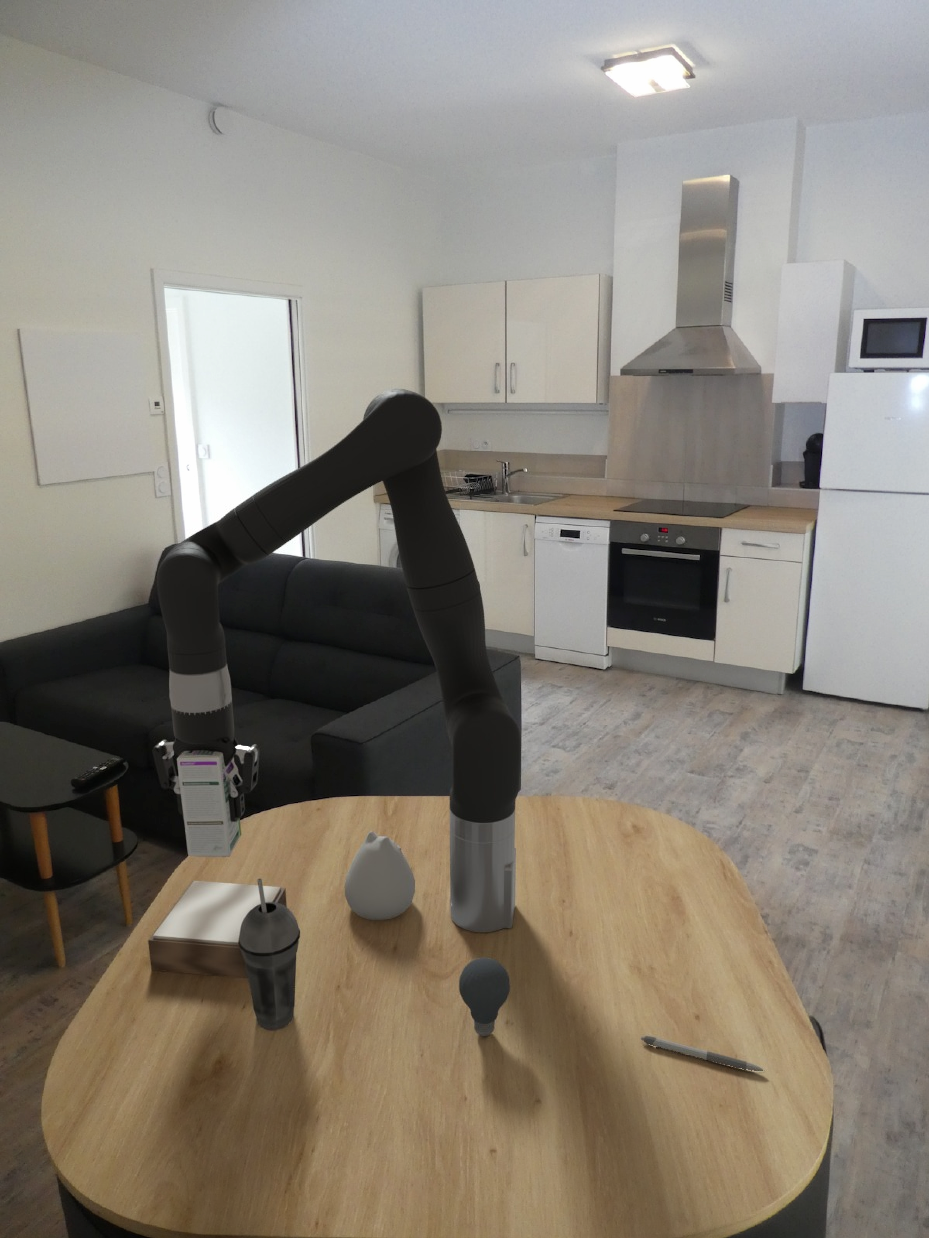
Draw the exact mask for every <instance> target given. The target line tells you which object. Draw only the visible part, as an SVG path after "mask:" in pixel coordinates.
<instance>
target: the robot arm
mask: <svg viewBox="0 0 929 1238" xmlns="http://www.w3.org/2000/svg"><path fill="white" fill-rule="evenodd" d="M440 416H441V415H440V413H439V411H438V409H437V408H436V407H435V406H434V404H433V403H432V402H431V401H430V400H429V399H428V398H427V397H425V396H423V395H421V394H420V393H418V392H416V391H412V390H408V389H405V388H404V389H403V388H391V389H387V390H384V391H382V392H381V393H379V394H377V395H376V396H375V397H373V399H372V400H371V401H370V403H368V405H367V407H366V408H365V412H364V414H363V418H362V419H363V420H362V421H361V422H359V424H358V425H357V426H355V427H354V428H353V429H352V430H350V432H349V433H348V434H347V435H346V436H344V437H343V438H342V439H341V440H340V441H339V442H337V443H336V444H335V445H334V446H332V447H331V448H330V449H328V450H327V451H325V452H323V453H322V454H321V455H319V456H318V457H316V458H315V459H313V460H311V461H309V462H308V463H305V464H304V465H302V466H300V467H299V468H298V467H297V468H296V469H294V470H293V471H291V472H289V473H287V474H286V475H284V476H282V477H279V478H278V479H276V480H275V481H273V482H271V483H270V484H267V486H265V487H262V489H260V490H258V491H257V492H255V493H254V494H252V495H251V496H250V497H248V498H247V499H245V500H244V501H242V502H241V503H239V504H238V505H237V506H235V507H234V508H232V509H231V510H229V511H228V512H227V513H226V514H225V515H223V517H221V518H220V519H218V520H217V521H215V522H212V523H211V524H209V525H208V526H206V527H204V528H203V529H201V530H198V531H197V532H195V533H194V534H191V535H190V536H188V537H187V538H185V539H184V540H182V541H181V542H178V544H176V545H175V546H174V547H172V549H170V551H168V553H167V554H166V556H165V557H164V559H163V560H162V561H161V563H160V564H159V567H158V570H157V576H156V579H157V580H156V587H157V588H156V589H157V596H158V601H159V606H160V611H161V612H160V613H161V616H162V621H163V623H164V626H165V630H166V643H167V645H166V646H167V656H168V668H169V679H168V680H169V681H168V682H169V683H168V686H169V688H168V689H169V695H168V696H169V701H170V708H171V709H170V710H171V718H172V728H173V729H172V730H173V735H174V738H175V739H174V740H173V741H169V740H167V739H162V740H161V741H159V742H158V743H157V744H156V745H155V746H154V747H153V748H152V751H151V752H152V757H153V760H154V764H155V767H156V769H155V770H156V773H157V775H158V780H159V784H160V787H161V788H162V789H163V790H168V789H170V790H173V791H174V793H175V794H176V801H177V812H178V813H179V815H182V816H181V817H182V819H183V820H184V816H183V808H182V799H181V791H180V782H179V774H178V775H177V771H176V766H175V763H174V758H173V756H174V755H176V756H177V758H178V757H179V755H180V754H181V753H183V752H184V751H190V752H189V753H192V752H193V751H196V750H205V751H212V752H221V753H223V758H224V764H225V767H227V765H228V764H229V763H230V765H231V769H230V771H229V772H228V774H227V773H226V771H225V770H224V780H225V783H226V784H227V791H228V793H229V795H230V796H229V797H228V798H229V809H230V820H231V822H237V821H238V819H239V818H240V819H241V818H242V816H243V815H244V813H245V811H246V806H245V794H246V795H248V794H250V793H251V792H252V790H253V789H254V788H255V786H256V785H257V784H258V779H259V764H260V763H259V762H260V752H261V751H260V750H261V748H260V746H259V745H258V744H256V743H255V744H252V745H251V746H247V745H241V744H239V742H238V740H237V739H236V737H235V720H234V709H233V706H234V705H233V696H232V684H231V683H232V682H231V676H230V671H229V669H228V667H229V666H228V659H227V648H226V635H225V631H224V628H223V625H222V624H221V622H220V610H219V608H220V607H219V589H218V588H219V585H220V583H222V582H223V581H225V580H226V579H227V578H229V577H231V576H232V575H234V574H235V573H236V572H238V571H239V570H241V569H242V568H243V567H245V566H246V565H253V564H255V563H258V562H260V561H262V560H264V559H265V558H267V557H268V556H269V555H271V554H273V553H274V552H275V551H277V550H279V549H280V548H282V547H283V546H284V545H286V544H287V543H289V542H290V541H291V540H293V539H295V538H296V537H297V536H299V535H300V534H301V533H302V532H305V531H306V530H307V529H308V528H310V527H311V526H313V525H314V524H316V522H318V521H320V520H321V519H322V518H324V517H325V516H326V515H328V514H330V513H331V512H332V511H333V510H336V509H337V508H338V507H339V506H340V505H341V506H342V504H344V503H345V502H348V501H350V500H351V499H352V498H353V497H355V496H357V495H358V494H361V493H362V492H365V491H366V490H367V489H370V488H372V487H373V486H375V485H376V484H379V483H381V482H382V484H383V486H384V488H385V491H386V495H387V498H388V501H389V505H390V509H391V513H392V517H393V518H392V519H393V524H394V525H393V526H394V532H395V536H396V537H395V538H396V543H397V550H398V556H399V560H400V564H401V568H402V574H403V578H404V581H405V586H406V590H407V592H408V597H409V601H410V603H411V607H412V611H413V613H414V617H415V619H416V623H417V625H418V628H419V630H420V633H421V636H422V638H423V641H424V642H425V645H426V648H427V649H428V652H429V653H430V656H431V657H432V661H433V663H434V666H435V669H436V672H437V677H438V681H439V682H438V683H439V688H440V693H441V697H442V698H441V700H442V704H443V710H444V711H443V712H444V718H445V719H444V720H445V726H446V727H445V728H446V733H447V737H448V738H449V742H450V744H451V748H452V786H451V788H450V790H449V892H450V893H449V895H450V896H449V906H450V907H449V908H450V909H449V911H450V917H451V920H452V922H453V923H455V924H456V925H457V926H458V927H460V928H461V929H463V930H467V931H469V932H475V933H490V932H495V931H499V930H501V929H512V928H513V925H514V924H513V922H514V915H515V908H516V880H517V879H516V872H517V871H516V869H517V867H516V865H517V864H516V863H517V848H516V847H515V844H516V843H515V841H516V801H517V800H516V799H517V797H518V795H519V790H520V782H521V781H520V780H521V779H520V778H521V777H520V776H521V757H522V755H521V753H522V752H521V751H522V750H521V749H522V742H521V733H520V728H519V726H518V724H517V723H518V722H517V721H516V720H515V718H514V717H513V715H512V713H511V711H510V709H509V708H508V706H507V704H506V702H505V700H504V698H503V697H502V694H501V692H500V688H499V687H498V684H497V682H496V679H495V675H494V673H493V669H492V667H491V664H490V660H489V656H488V653H487V645H486V624H485V623H486V621H485V611H484V609H485V608H484V603H483V597H482V592H481V591H482V590H481V588H480V583H479V580H478V579H479V578H478V576H477V572H476V567H475V564H474V561H473V557H472V554H471V552H470V549H469V546H468V543H467V540H466V537H465V536H464V533H463V531H462V528H461V525H460V523H459V521H458V519H457V516H456V515H455V512H454V510H453V508H452V506H451V503H450V501H449V499H448V496H447V494H446V490H445V487H444V482H443V478H442V473H441V467H440V461H439V458H438V450H437V448H438V447H439V445H440V443H441V439H442V432H443V427H442V420H441V417H440ZM236 755H237V756H238V758H239V762H240V764H241V765H242V766H243V769H242V777H241V776H240V774H239V769H238V768H239V767H238V766H237V765H236V762H235V760H234V761H233V757H235V756H236Z"/></svg>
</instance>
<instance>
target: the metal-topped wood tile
mask: <svg viewBox="0 0 929 1238" xmlns="http://www.w3.org/2000/svg"><path fill="white" fill-rule="evenodd" d="M263 891H264V897H265V902H277V903H280V904H282V905H284V906H285V907H287V894H286V893H287V892H286V887H281V886H271V885H263ZM259 904H261V901H260V894H259V888H258V884H256V885H255V884H245V883H244V884H243V883H229V882H217V881H206V880H203V881H201V880H192V881H191V882H190V884H189V885H188V886H187V888H186V889H185V890H184V892H182V894H181V896H180V897H179V898H178V900H177V901H176V902H175V904H174V905H173V906H172V907H171V909H170V910H169V912H168V913H167V914H166V915H165V917H164V918H163V920H161V922H160V924H159V925H158V926H157V927H156V929H155V930H154V931H153V932H152V934H150V937H149V938H148V940H147V944H148V951H149V959H150V960H149V961H150V969H151V971H158V972H159V971H161V972H171V973H182V974H183V973H184V974H192V975H204V976H215V977H227V978H236V979H237V978H238V979H247V980H248V976H247V970H246V965H245V960H244V958H243V955H242V952H241V949H240V946H239V944H238V941H239V934H240V928H241V924H242V921H243V920H244V918H245V916H246V915H247V914H248V912H249V911H250V910H252V909H253V908H254V907H255V906H257V905H259ZM287 908H288V907H287Z"/></svg>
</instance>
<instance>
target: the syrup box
mask: <svg viewBox="0 0 929 1238" xmlns="http://www.w3.org/2000/svg"><path fill="white" fill-rule="evenodd" d="M189 752H190V751H184V752H183V753H181V754H180V755H179V757H178V756H177V758H176V764H177V770H178V771H177V772H178V775H179V782H180V791H181V799H182V808H183V816H184V819H183V823H184V831H185V840H186V849H187V855H188V856H189V857H195V858H196V857H197V858H229V857H231V855H232V854H233V851H234V849H235V848H236V846H237V844H238V842H239V840H240V838H241V836H242V828H241V817H240V818H239V819H238V821H237V822H231V820H230V809H229V798H228V797H229V796H230V795H229V793H228V791H227V784H226V783H225V780H224V770H225V771H226V773H227V774H228V772H229V771H230V769H231V765H230V763H229V764H228V765H227V767H225V764H224V758H223V753H221V752H212V751H205V750H196V751H193V752H192V753H189ZM234 757H235V756H234ZM234 757H233V761H234V762H235V758H234Z"/></svg>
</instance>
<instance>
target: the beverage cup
mask: <svg viewBox="0 0 929 1238" xmlns="http://www.w3.org/2000/svg"><path fill="white" fill-rule="evenodd" d="M257 885H258V888H259V894H260V901H261V904H259V905H257V906H255V907H254V908H253V909H252V910H250V911H249V912H248V914H247V915H246V916H245V918H244V920H243V921H242V924H241V928H240V934H239V941H238V944H239V946H240V949H241V952H242V955H243V958H244V960H245V965H246V970H247V976H248V979H247V980H248V985H249V990H250V991H249V992H250V996H251V1003H252V1007H253V1012H254V1014H255V1017H256V1018H255V1020H256V1024H257V1026H258V1027H260V1029H263V1030H266V1031H278V1030H281V1029H284V1028H286V1027H287V1026H289V1025H290V1024H291V1023H292V1021H293V1019H294V1017H295V1013H294V1012H295V1006H296V1005H295V1004H296V1003H295V1002H296V980H297V979H296V977H297V976H296V973H297V971H296V970H297V953H298V948H299V943H300V941H299V940H300V938H301V931H300V928H299V923H298V920H297V918H296V917H295V915H294V913H293V912H292V910H290V908H288V907H285V906H284V905H282V904H280V903H277V902H265V897H264V891H263V886H264V885H263V879H262V877H261V878H257Z"/></svg>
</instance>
